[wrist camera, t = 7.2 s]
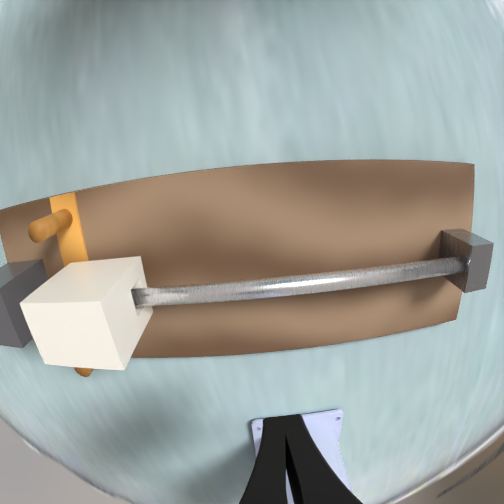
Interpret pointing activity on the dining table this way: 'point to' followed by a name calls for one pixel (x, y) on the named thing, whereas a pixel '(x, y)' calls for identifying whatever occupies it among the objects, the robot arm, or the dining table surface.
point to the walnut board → (262, 247)
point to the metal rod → (341, 276)
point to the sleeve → (89, 314)
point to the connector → (18, 299)
